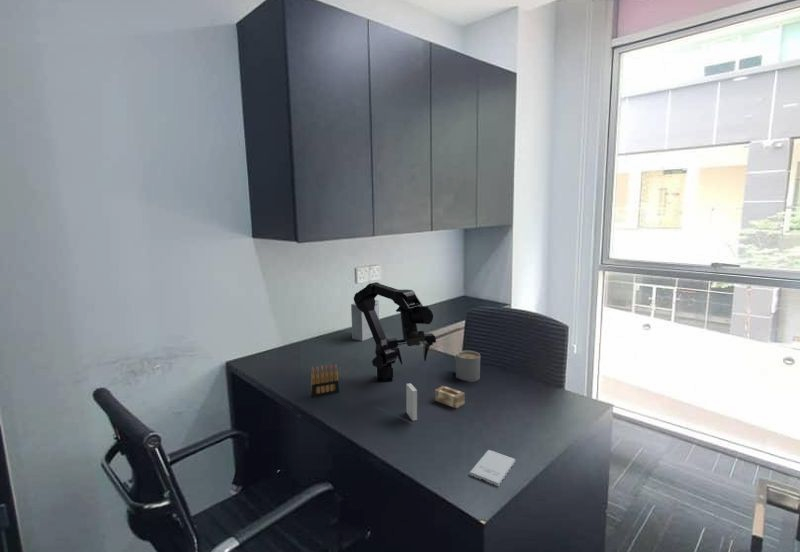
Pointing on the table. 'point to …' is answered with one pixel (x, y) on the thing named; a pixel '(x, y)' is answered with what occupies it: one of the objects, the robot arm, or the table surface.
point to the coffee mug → (468, 365)
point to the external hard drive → (492, 467)
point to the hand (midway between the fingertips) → (413, 362)
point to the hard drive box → (361, 323)
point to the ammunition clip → (324, 381)
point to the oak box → (450, 396)
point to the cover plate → (411, 401)
